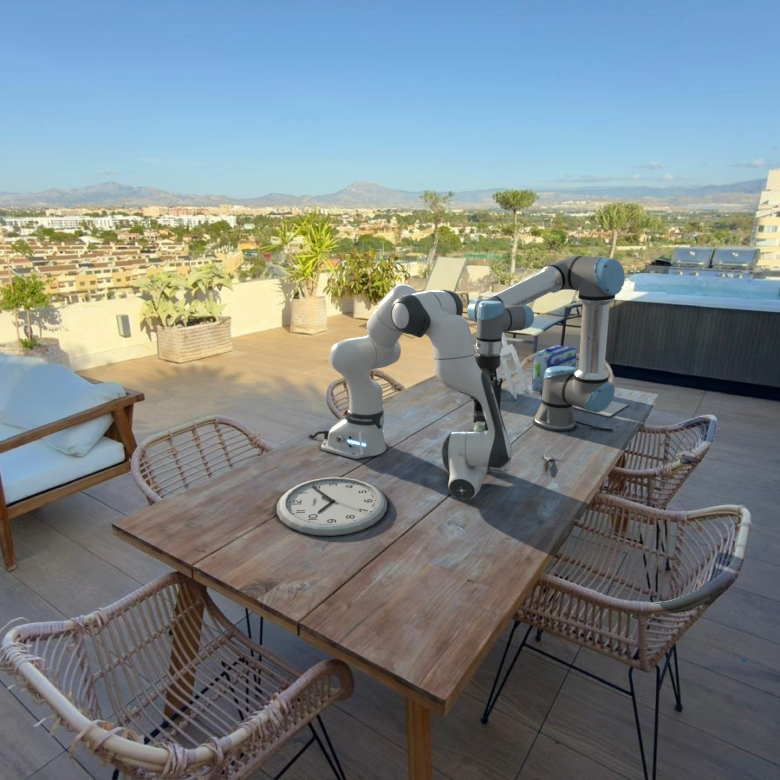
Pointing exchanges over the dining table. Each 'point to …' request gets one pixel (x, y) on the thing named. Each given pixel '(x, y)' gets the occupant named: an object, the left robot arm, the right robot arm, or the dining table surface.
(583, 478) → the dining table surface
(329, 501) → the wall clock
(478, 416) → the lid
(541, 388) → the lunch box
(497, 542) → the dining table surface
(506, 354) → the white plastic object
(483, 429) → the jar
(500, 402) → the right robot arm
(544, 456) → the fork
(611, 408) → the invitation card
